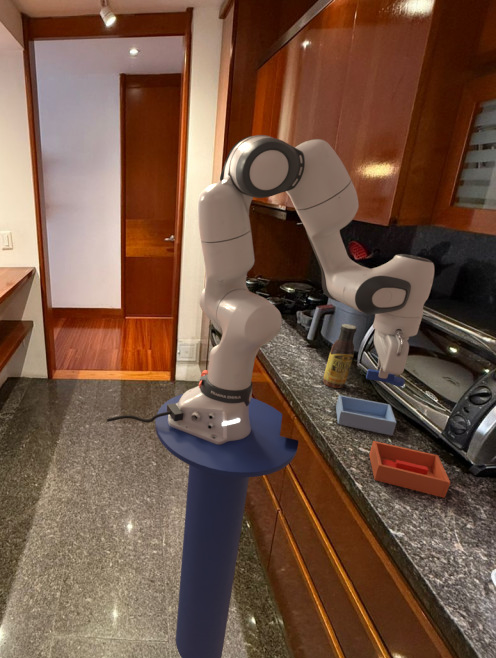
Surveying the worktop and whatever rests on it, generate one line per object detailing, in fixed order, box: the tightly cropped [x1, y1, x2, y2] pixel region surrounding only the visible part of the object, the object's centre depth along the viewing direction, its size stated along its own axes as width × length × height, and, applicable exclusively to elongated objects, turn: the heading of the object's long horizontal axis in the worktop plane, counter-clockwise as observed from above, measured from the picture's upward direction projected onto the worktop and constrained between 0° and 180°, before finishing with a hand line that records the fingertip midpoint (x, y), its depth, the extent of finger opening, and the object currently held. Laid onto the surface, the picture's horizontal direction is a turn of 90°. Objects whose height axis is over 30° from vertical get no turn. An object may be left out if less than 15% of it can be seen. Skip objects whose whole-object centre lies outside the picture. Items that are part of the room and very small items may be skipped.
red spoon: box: [382, 460, 428, 475], centre depth 85 cm, size 8×3×2 cm, turn 64°
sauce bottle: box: [322, 323, 357, 389], centre depth 119 cm, size 7×6×20 cm
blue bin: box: [335, 394, 397, 437], centre depth 104 cm, size 12×9×4 cm
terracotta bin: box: [368, 440, 451, 499], centre depth 84 cm, size 12×9×4 cm
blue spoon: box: [365, 368, 406, 387], centre depth 97 cm, size 8×3×2 cm, turn 63°
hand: (381, 374), depth 97 cm, fingers closed on blue spoon, 1 cm apart
